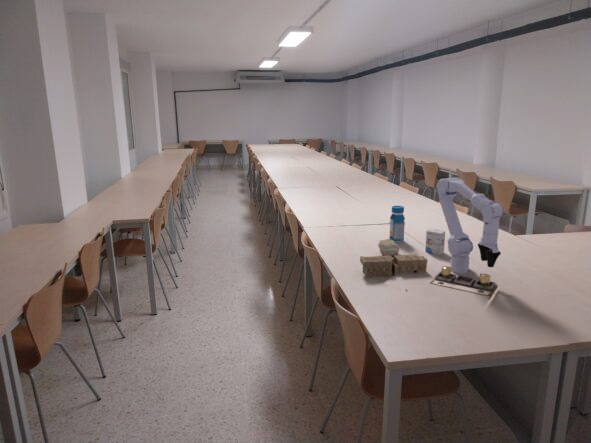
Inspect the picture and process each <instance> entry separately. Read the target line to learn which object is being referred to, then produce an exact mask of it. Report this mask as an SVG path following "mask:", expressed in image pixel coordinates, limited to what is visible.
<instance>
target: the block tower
mask: <svg viewBox="0 0 591 443" xmlns="http://www.w3.org/2000/svg"><path fill="white" fill-rule="evenodd" d="M359 262H360V265H362V273H363V275H364V274H365V275H364V277H365V278H369V277H371V278H383V277H385V278H386V277H392V275H393V276H396V275H397V274H413V273H414V272H416V273H426V272H427V266H428V258H426V257H425V256H423V255H419V254H418V253H417V254H400V255H399V254H397V255H393V257H392V256H390V255H389V256H385V255H376V256H359Z"/></svg>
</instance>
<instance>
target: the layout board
mask: <svg viewBox="0 0 591 443" xmlns="http://www.w3.org/2000/svg"><path fill="white" fill-rule="evenodd" d="M479 279H480V278H479ZM479 279H477V280H476V278H475V277H470V276H464V275H460V274H459V275H458V276H457V274H456V273H451V278H450V279H448V278H443V277H441V271H439V272H438V273H437V274H436V275H435V277H434V278H433V279H432V281H430V282H429V284H430V285H434V286H439V287H444V288H447V289H453V290H457V291H463V292H467V293H471V294H476V295H480V296H485V297H489V298H488V300H490V299H491V298H492V296H493V295H494V294H495V292H496V290H497V289H498V284H497V283H496V282H494V281H490V286H489V287H488V286H483V285H479Z"/></svg>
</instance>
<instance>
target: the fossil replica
mask: <svg viewBox="0 0 591 443" xmlns="http://www.w3.org/2000/svg"><path fill="white" fill-rule="evenodd" d="M377 246H378V248H379V253H380V254H381V256H389V255H390V256H391V257H392V256H393V257H394V255H399V252H400V247H399V244H397V242H393V240H391V239H389V238H387V239H383V240H382V239H381V240H379V241H378V245H377Z"/></svg>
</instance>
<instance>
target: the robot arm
mask: <svg viewBox="0 0 591 443" xmlns="http://www.w3.org/2000/svg"><path fill="white" fill-rule="evenodd" d="M464 182H465V181H464V180H463V179H461V178H460V177H458V176H455V177H447V178H440V179H439V180H438V182H437V183H436V187H435V188H436V190H437V193H438V199H439V200H438V201H439V203H440V206H441V210H442V212H443V215H444V219H445V222H446V224H447V225H446V226H447V228H448V231H449V234H450V236H449V238H448V239H447V245H448V246H447V249H448V252H449V254H450V255H451V257H450V267H451V273H453V274H459V275H460V274H461V275H462V274H463V275H464V274H467V272H468V270H469V267H470V253H472V252H473V250H474V242H473V241H471V238H470V236H469V235H468V234H466V233H465V232H464V231H463V228H462V225H461V221H460V219H459V216H458V213H457V210H456V206H455V202H454V200H453V199H454V197H455V196H456V195H458V193H459V194H460V195H462V196H464V197H465V198H467V199H469V201H470V204H471V205H472V206H473V207H475V209H477V210H478V211H480V213H481V215H482V217H483V218H482V221H483V229H482V237H480V241H479V242H478V244H477V246H478V250H479V254H480V260H481V262H483V261H484V262H486V261H487V262H486V264H487V267H488V268H494V267H495V265H496V262H497V259H498V258H499V256H500V255H501V254H502V252H501V251H499V247H498V238H499V229H500V228H499V227H500V219H501V217H502V216H504V212H505V210H504V207H503V205H502V204H501V203H499V202H494V201H493V200H491V199H489V198H488V197H487V196H486V194H484V193H480V192H479V193H476V192H475V191H473V189H472V188H470V187H469V186H468V185H467V184H466V183H464Z"/></svg>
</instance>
